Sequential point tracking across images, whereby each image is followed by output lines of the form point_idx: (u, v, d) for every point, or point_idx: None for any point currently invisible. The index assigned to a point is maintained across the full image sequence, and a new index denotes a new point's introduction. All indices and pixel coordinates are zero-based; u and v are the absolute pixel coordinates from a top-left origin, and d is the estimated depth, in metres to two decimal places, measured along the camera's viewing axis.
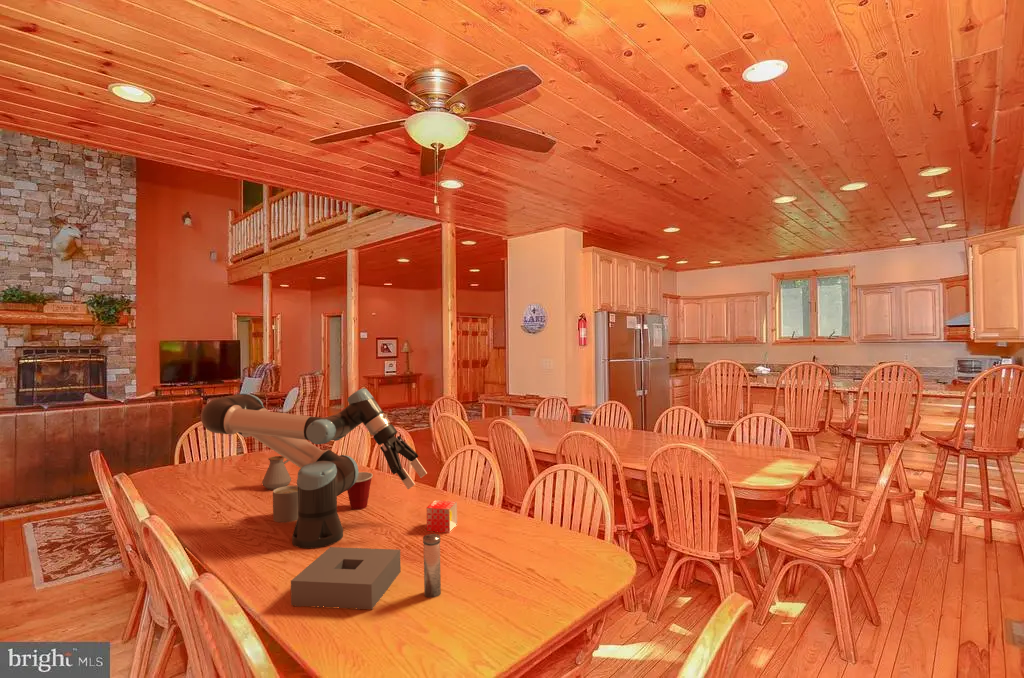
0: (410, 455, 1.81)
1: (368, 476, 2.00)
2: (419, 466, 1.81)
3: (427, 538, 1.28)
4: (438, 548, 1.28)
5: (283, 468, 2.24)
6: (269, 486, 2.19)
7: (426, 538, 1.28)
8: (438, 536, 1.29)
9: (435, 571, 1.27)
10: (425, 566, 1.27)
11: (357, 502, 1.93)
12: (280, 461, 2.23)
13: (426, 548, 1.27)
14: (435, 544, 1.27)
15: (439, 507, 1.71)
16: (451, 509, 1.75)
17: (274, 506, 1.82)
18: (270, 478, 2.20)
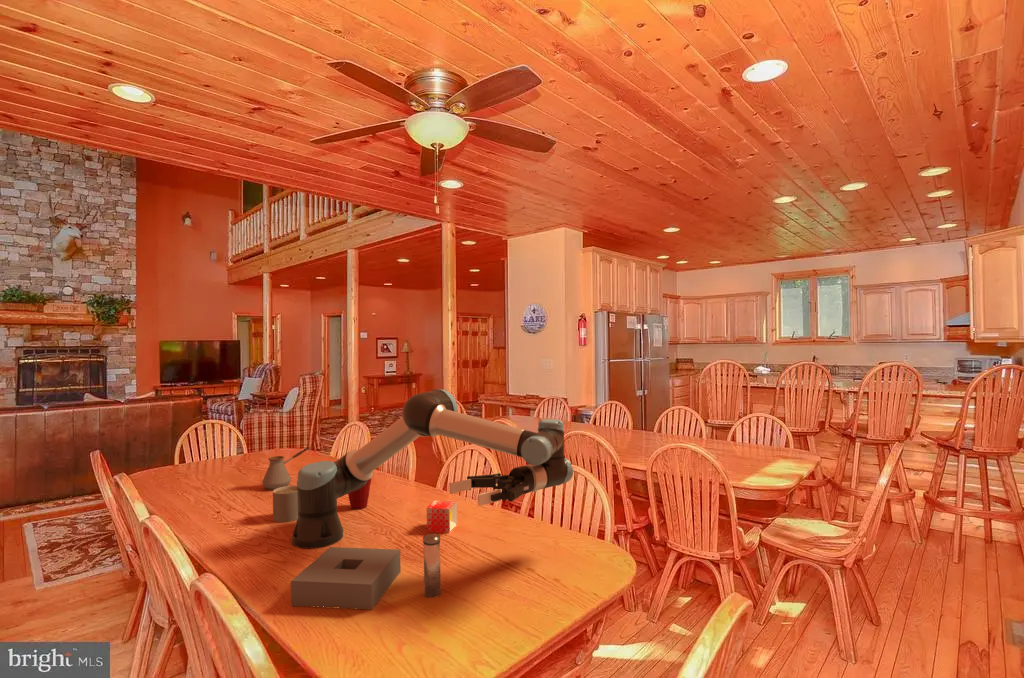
0: (478, 485, 1.45)
1: None
2: (462, 489, 1.42)
3: (427, 538, 1.28)
4: (438, 548, 1.28)
5: (283, 468, 2.24)
6: (269, 486, 2.19)
7: (426, 538, 1.28)
8: (438, 536, 1.29)
9: (435, 571, 1.27)
10: (425, 566, 1.27)
11: (357, 502, 1.93)
12: (280, 461, 2.23)
13: (426, 548, 1.27)
14: (435, 544, 1.27)
15: (439, 507, 1.71)
16: (451, 509, 1.75)
17: (274, 506, 1.82)
18: (270, 478, 2.20)
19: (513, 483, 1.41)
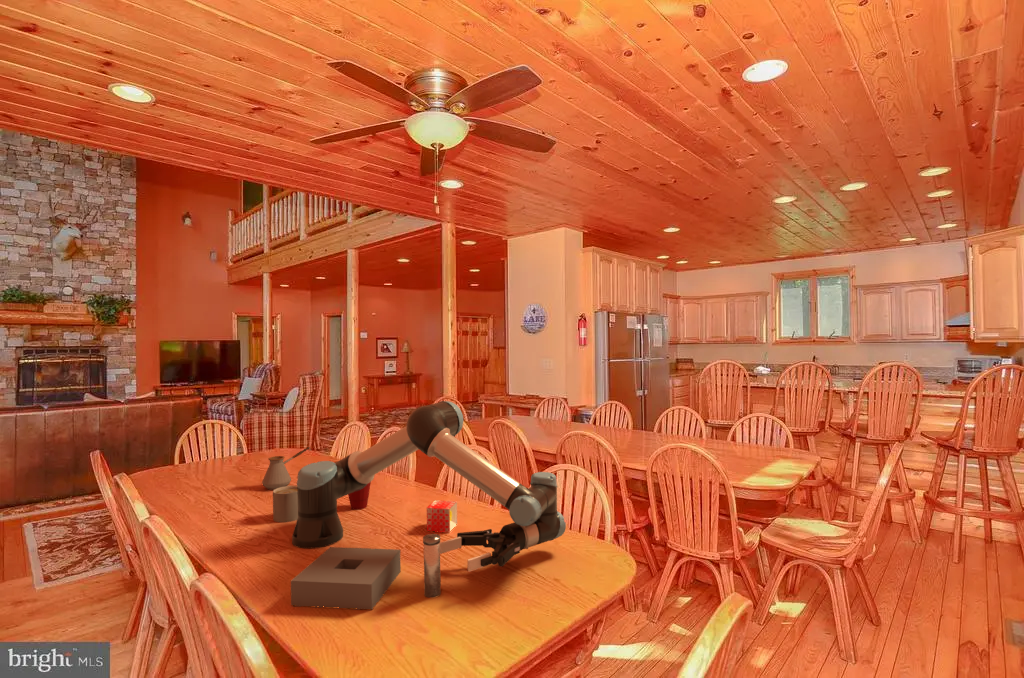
0: (468, 543, 1.42)
1: None
2: (452, 548, 1.39)
3: (427, 538, 1.28)
4: (438, 548, 1.28)
5: (283, 468, 2.24)
6: (269, 486, 2.19)
7: (426, 538, 1.28)
8: (438, 536, 1.29)
9: (435, 571, 1.27)
10: (425, 566, 1.27)
11: (357, 502, 1.93)
12: (280, 461, 2.23)
13: (426, 548, 1.27)
14: (435, 544, 1.27)
15: (439, 507, 1.71)
16: (451, 509, 1.75)
17: (274, 506, 1.82)
18: (270, 478, 2.20)
19: (504, 543, 1.38)
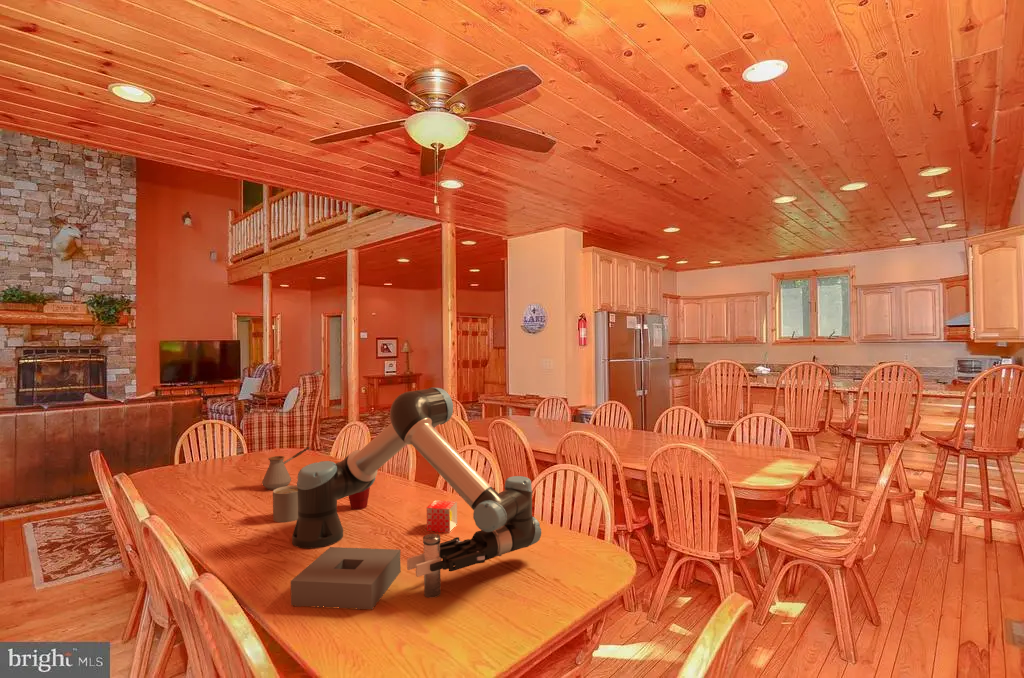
0: (441, 556, 1.33)
1: None
2: None
3: (427, 538, 1.28)
4: (438, 548, 1.28)
5: (283, 468, 2.24)
6: (269, 486, 2.19)
7: (426, 538, 1.28)
8: (438, 536, 1.29)
9: (435, 571, 1.27)
10: None
11: (357, 502, 1.93)
12: (280, 461, 2.23)
13: (426, 548, 1.27)
14: (435, 544, 1.27)
15: (439, 507, 1.71)
16: (451, 509, 1.75)
17: (274, 506, 1.82)
18: (270, 478, 2.20)
19: (470, 550, 1.33)
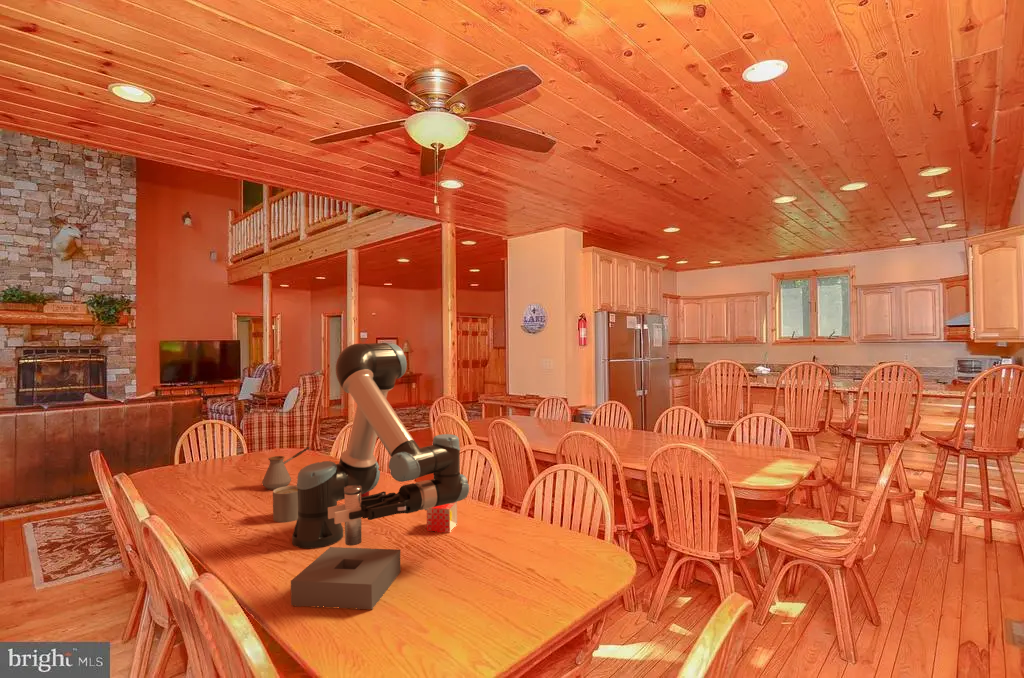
0: None
1: None
2: None
3: (348, 488, 1.31)
4: (358, 498, 1.31)
5: (283, 468, 2.24)
6: (269, 486, 2.19)
7: (347, 488, 1.31)
8: (359, 486, 1.32)
9: (355, 520, 1.30)
10: None
11: None
12: (280, 461, 2.23)
13: (346, 498, 1.30)
14: (355, 493, 1.30)
15: (439, 507, 1.71)
16: (451, 509, 1.75)
17: (274, 506, 1.82)
18: (270, 478, 2.20)
19: (392, 502, 1.36)
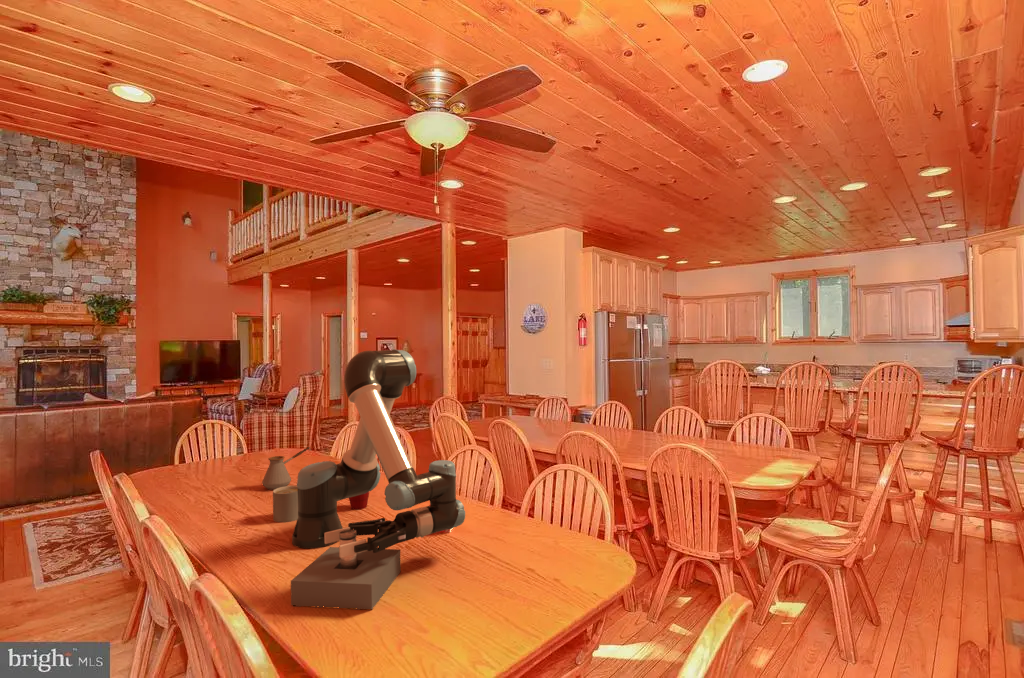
0: (359, 533, 1.39)
1: None
2: None
3: (343, 533, 1.32)
4: None
5: (283, 468, 2.24)
6: (269, 486, 2.19)
7: (342, 533, 1.32)
8: (354, 531, 1.33)
9: (350, 565, 1.31)
10: (341, 561, 1.31)
11: (357, 502, 1.93)
12: (280, 461, 2.23)
13: (341, 543, 1.31)
14: (350, 539, 1.31)
15: None
16: None
17: (274, 506, 1.82)
18: (270, 478, 2.20)
19: (391, 531, 1.36)
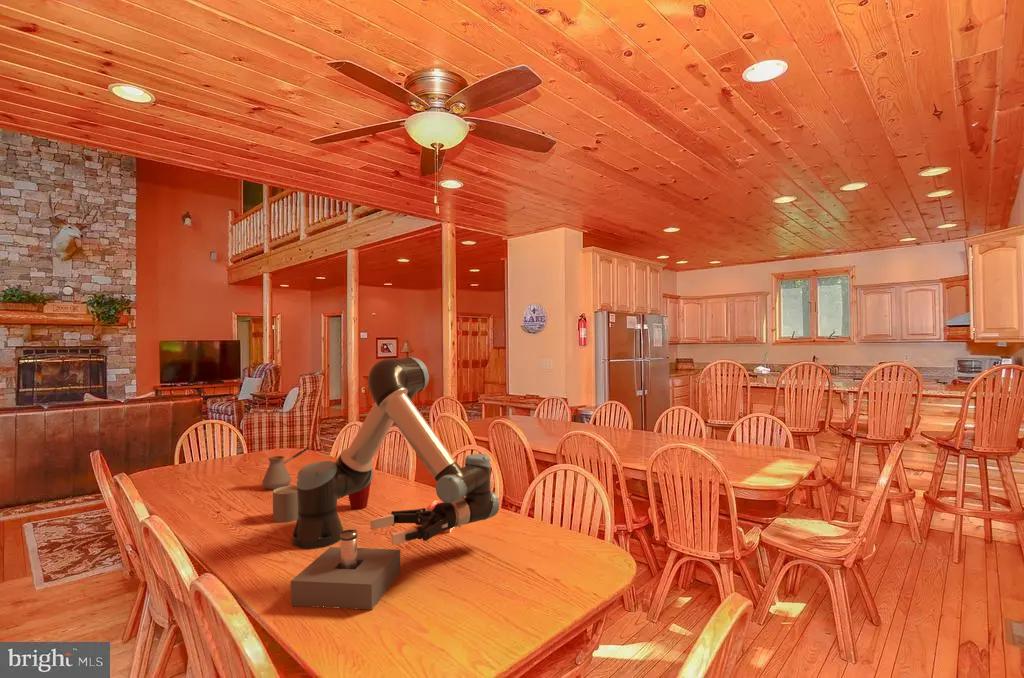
0: (401, 521, 1.48)
1: None
2: (384, 525, 1.45)
3: (344, 533, 1.32)
4: (354, 543, 1.32)
5: (283, 468, 2.24)
6: (269, 486, 2.19)
7: (343, 533, 1.32)
8: (355, 532, 1.33)
9: (351, 565, 1.31)
10: (341, 561, 1.31)
11: (357, 502, 1.93)
12: (280, 461, 2.23)
13: (342, 543, 1.31)
14: (351, 539, 1.31)
15: None
16: None
17: (274, 506, 1.82)
18: (270, 478, 2.20)
19: (433, 520, 1.44)
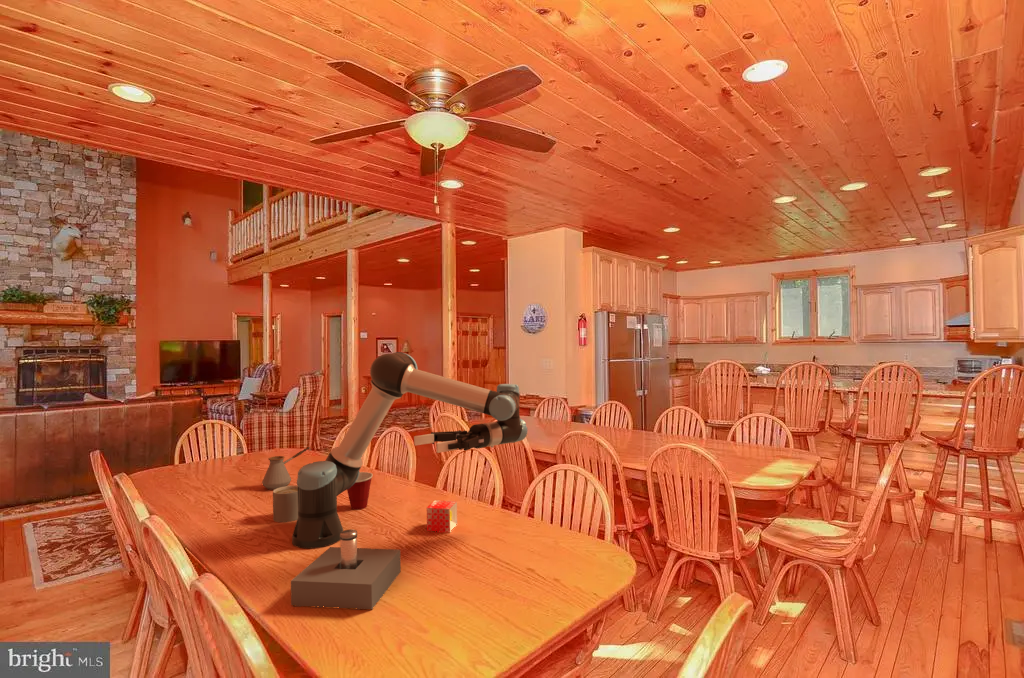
0: (440, 439, 1.63)
1: (368, 476, 2.00)
2: (425, 442, 1.61)
3: (344, 533, 1.32)
4: (354, 543, 1.32)
5: (283, 468, 2.24)
6: (269, 486, 2.19)
7: (342, 533, 1.32)
8: (354, 531, 1.33)
9: (351, 565, 1.31)
10: (341, 561, 1.31)
11: (357, 502, 1.93)
12: (280, 461, 2.23)
13: (342, 543, 1.31)
14: (351, 539, 1.31)
15: (439, 507, 1.71)
16: (451, 509, 1.75)
17: (274, 506, 1.82)
18: (270, 478, 2.20)
19: (470, 437, 1.59)
